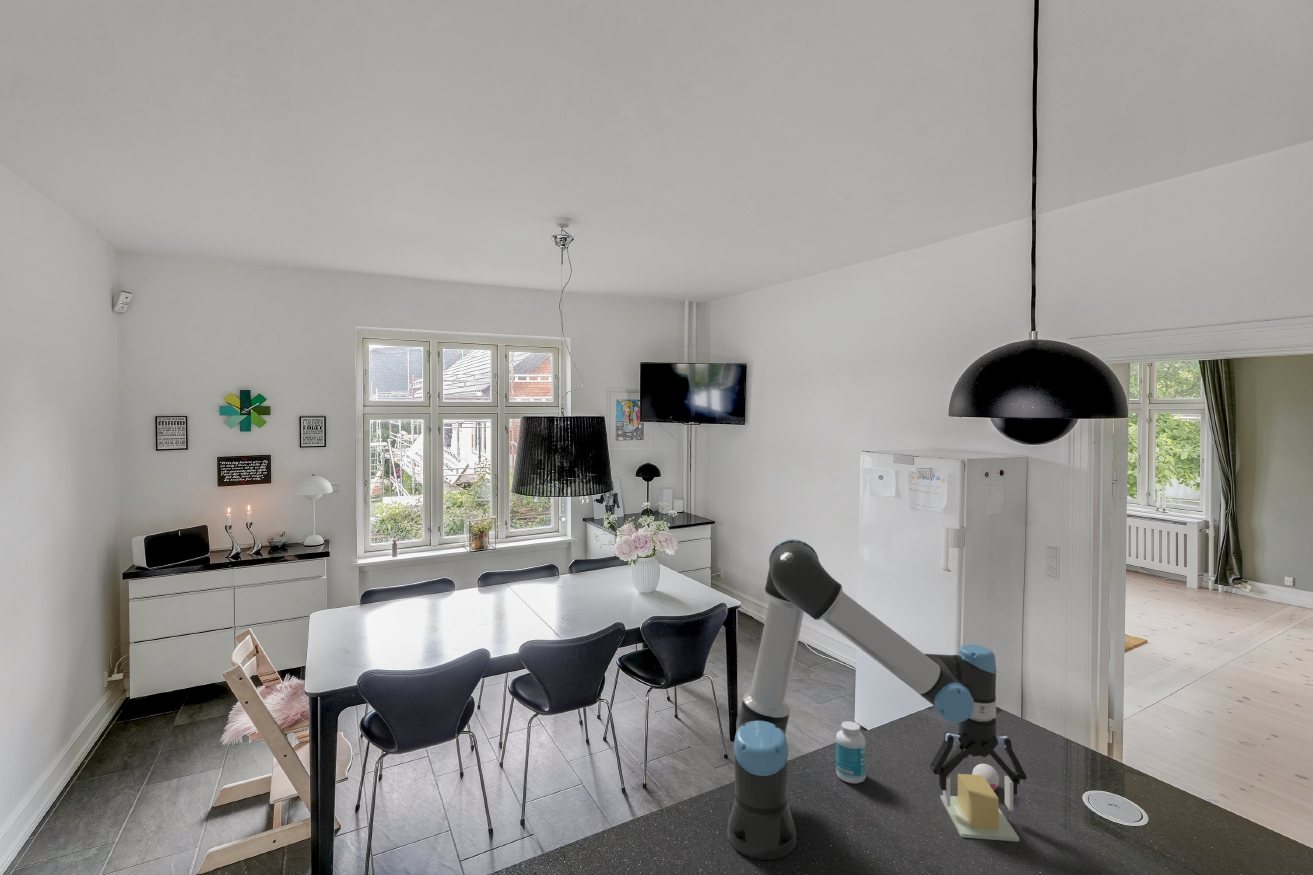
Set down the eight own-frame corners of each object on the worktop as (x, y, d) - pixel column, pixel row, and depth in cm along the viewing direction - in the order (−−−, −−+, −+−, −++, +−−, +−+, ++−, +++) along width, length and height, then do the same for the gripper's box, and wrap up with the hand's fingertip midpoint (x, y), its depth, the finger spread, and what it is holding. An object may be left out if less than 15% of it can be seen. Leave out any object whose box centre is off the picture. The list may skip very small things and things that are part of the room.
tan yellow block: (972, 827, 136) (972, 796, 136) (957, 802, 145) (957, 773, 145) (998, 829, 135) (998, 798, 135) (982, 804, 144) (982, 775, 144)
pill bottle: (867, 786, 153) (867, 733, 153) (837, 783, 154) (837, 731, 154) (863, 769, 160) (863, 719, 160) (834, 766, 162) (834, 717, 162)
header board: (961, 836, 134) (961, 816, 134) (940, 798, 148) (940, 779, 148) (1019, 841, 132) (1019, 820, 132) (992, 801, 146) (992, 783, 146)
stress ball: (975, 791, 156) (958, 767, 157) (1004, 779, 153) (987, 754, 155) (979, 808, 148) (962, 782, 150) (1009, 794, 146) (992, 769, 148)
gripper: (925, 719, 137) (926, 811, 138) (1043, 725, 134) (1043, 819, 135) (916, 704, 145) (916, 791, 145) (1027, 709, 142) (1027, 798, 142)
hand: (977, 805), depth 140 cm, fingers open, 13 cm apart
